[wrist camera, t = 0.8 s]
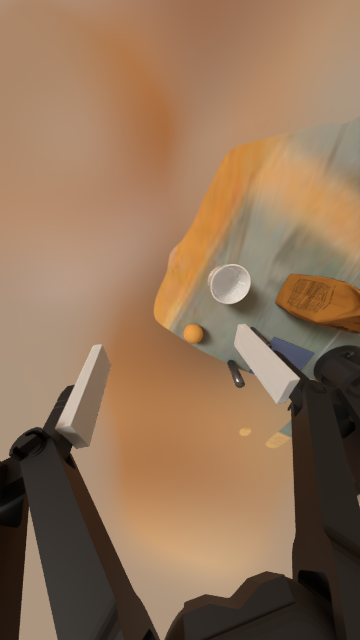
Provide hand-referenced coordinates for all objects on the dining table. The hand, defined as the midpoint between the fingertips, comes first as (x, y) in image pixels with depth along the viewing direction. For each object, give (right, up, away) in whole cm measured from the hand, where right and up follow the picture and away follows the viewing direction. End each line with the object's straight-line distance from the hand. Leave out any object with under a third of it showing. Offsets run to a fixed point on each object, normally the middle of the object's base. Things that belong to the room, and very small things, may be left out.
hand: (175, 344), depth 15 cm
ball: (+4, -2, +28) cm, 28 cm away
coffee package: (+32, +9, +25) cm, 42 cm away
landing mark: (+32, -11, +33) cm, 47 cm away
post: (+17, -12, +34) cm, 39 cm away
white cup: (+11, +13, +25) cm, 30 cm away
